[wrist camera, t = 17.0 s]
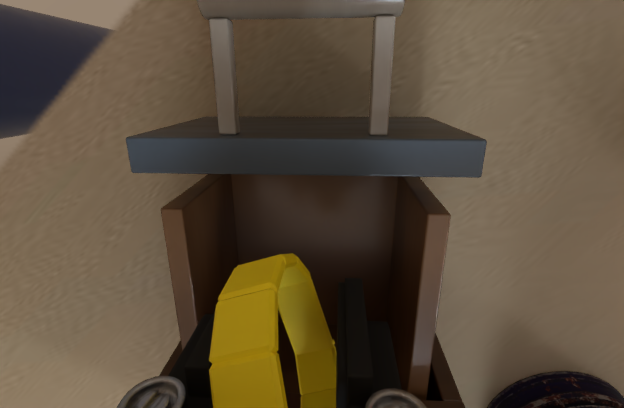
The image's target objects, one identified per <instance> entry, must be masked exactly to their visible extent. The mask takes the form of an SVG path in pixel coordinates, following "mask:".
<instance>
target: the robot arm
mask: <svg viewBox="0 0 624 408" xmlns="http://www.w3.org/2000/svg"><path fill="white" fill-rule="evenodd" d="M214 316H215V311H214V313H213V314H205V315H204V316H203V317H202V318H201V320H200V322H199V324H198V325H197V327H196V329H195V330H194V332H193V334H192V336H191V337H190V339H189V341H188V342H187V344H186V346H185V348H184V349H183V351H182V353H181V354H180V356H179V358H178V360H177V361H176V363H175V365H174V367H173V368H172V370H171V372H170V373H169V375H168V376H157V377H153V378H150V379H147V380H145V381H143V382H141V383H139V384H137V385H136V386H134V387H133V388H132V389H131V390H130V391H128V392H127V394H126V395H125V396H124V397H123V399H122V400H121V401H120V403H119V405H118V406H117V408H213V403H212V393H211V384H210V375H209V369H210V367H211V366H212V363H211V362H210V361H209V356H210V348H211V340H212V332H213V324H214ZM336 408H427V407H426V406H425V405H424V403H423V402H422V401H421V400H419V399H418V398H417V397H416V396H415V395H413V394H411V393H409V392H407V391H404V390H402V387H401V382H400V377H399V372H398V367H397V362H396V358H395V353H394V348H393V343H392V338H391V333H390V328H389V324H388V322H385V321H367V317H366V308H365V300H364V291H363V283H362V278H345V282H338V311H337V355H336Z"/></svg>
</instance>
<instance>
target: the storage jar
mask: <svg viewBox="0 0 624 408" xmlns="http://www.w3.org/2000/svg"><path fill="white" fill-rule="evenodd" d="M487 408H624V398H623V396H622V395H621V394H620V393H619V392H618V391H617V390H616V389H615V388H614V387H613V386H611V385H610V384H609V383H607V382H605V381H603V380H601V379H600V378H597V377H594V376H591V375H588V374H583V373H578V372H566V371H565V372H550V373H543V374H539V375H535V376H532V377H528V378H526V379H523V380H521V381H518V382H517V383H515V384H513V385H511V386H509V387H508V388H506V389H505V390H504V391H502V392H501V393H500V394H499V395H498V396H497V397H496V398H495V399H494V400H493V401H492V402H491V403H490V405H489V406H488V407H487Z"/></svg>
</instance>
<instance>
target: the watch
mask: <svg viewBox="0 0 624 408" xmlns="http://www.w3.org/2000/svg"><path fill="white" fill-rule="evenodd" d="M218 301H219V302H217V304H216V309H215V316H214V324H213V332H212V340H211V348H210V356H209V361H210V362H211V363H212V366H211V367H210V369H209V375H210V384H211V393H212V403H213V408H288V406H287V400H286V394H285V388H284V382H283V376H282V370H281V364H280V359H279V354H278V353H277V351H278V310H279V313H280V315H281V318H282V321H283V323H284V326H285V329H286V331H287V334H288V337H289V339H290V342H291V345H292V347H293V350H294V353H295V359H296V366H297V374H298V381H299V388H300V394H301V395H302V396H301V408H336V355H337V353H336V348H335V346H334V344H335V341H334V339H333V340H332V337H331V334H330V331H329V328H328V325H327V322H326V320H325V317H324V314H323V311H322V308H321V305H320V302H319V299H318V296H317V293H316V290H315V287H314V284H313V281H312V278H311V276H310V272H309V271H308V269H307V268H306V267H305V265H304V264H303V263H302V262H301V260H300V259H299V258H298V257H297V256H296V255H294V254H293V253H290V254H279V255H276V256H272V257H268V258H264V259H260V260H257V261H253V262H249V263H245V264H242V265H238V266H237V267H236V268H234V270H233V272H232V274H231V275H230V277H229V279H228V281H227V283H226V284H225V286H224V288H223V290H222V292H221V294H220V295H219V297H218Z"/></svg>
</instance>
